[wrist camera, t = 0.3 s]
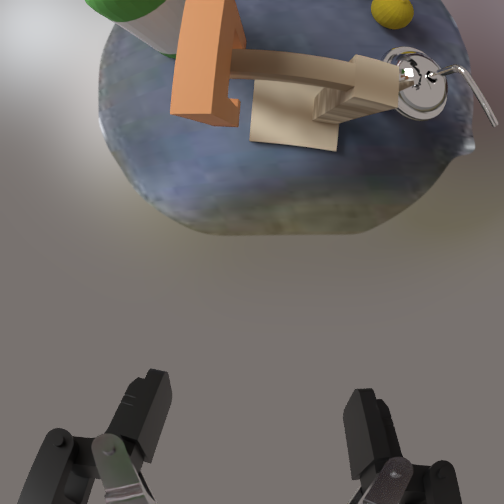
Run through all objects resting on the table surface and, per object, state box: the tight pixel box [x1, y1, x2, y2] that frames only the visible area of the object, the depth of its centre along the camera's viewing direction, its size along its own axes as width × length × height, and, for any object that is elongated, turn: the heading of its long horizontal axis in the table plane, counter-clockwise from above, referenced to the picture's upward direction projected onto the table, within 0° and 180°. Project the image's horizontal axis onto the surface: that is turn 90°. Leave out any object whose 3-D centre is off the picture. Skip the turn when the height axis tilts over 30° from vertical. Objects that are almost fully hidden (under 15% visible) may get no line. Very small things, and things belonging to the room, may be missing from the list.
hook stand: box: [229, 49, 399, 151], centre depth 23 cm, size 10×14×20 cm
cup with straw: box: [380, 47, 499, 127], centre depth 21 cm, size 8×9×20 cm
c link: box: [170, 0, 246, 127], centre depth 15 cm, size 8×2×10 cm, turn 175°
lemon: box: [371, 0, 414, 29], centre depth 22 cm, size 6×6×8 cm
